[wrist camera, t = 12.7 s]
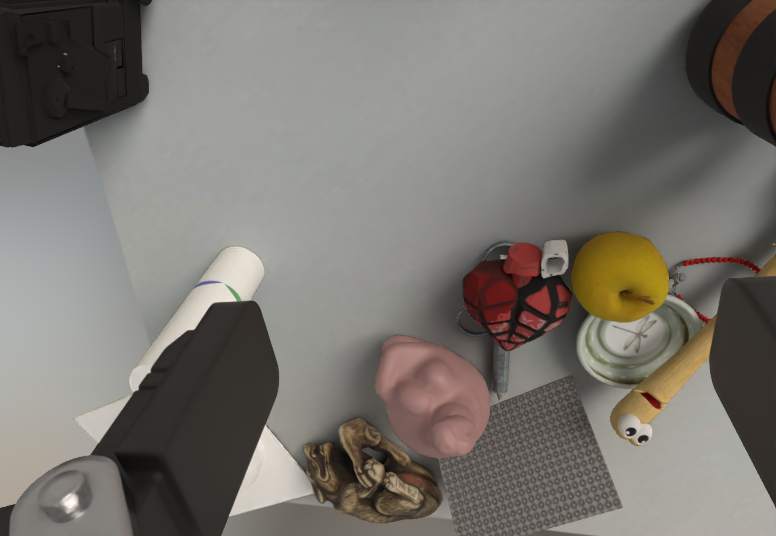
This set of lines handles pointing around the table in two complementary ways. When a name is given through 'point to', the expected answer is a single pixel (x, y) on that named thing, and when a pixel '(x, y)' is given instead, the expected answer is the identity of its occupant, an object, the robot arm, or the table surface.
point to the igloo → (263, 477)
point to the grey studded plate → (530, 468)
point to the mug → (737, 62)
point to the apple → (620, 277)
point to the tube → (206, 301)
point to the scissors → (499, 354)
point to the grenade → (519, 293)
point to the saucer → (635, 343)
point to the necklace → (682, 277)
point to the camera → (67, 65)
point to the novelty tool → (666, 382)
